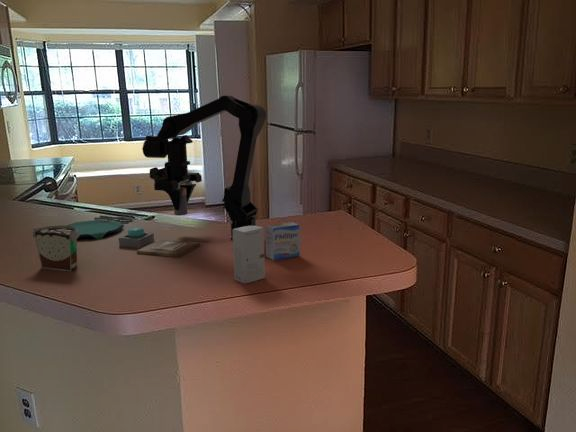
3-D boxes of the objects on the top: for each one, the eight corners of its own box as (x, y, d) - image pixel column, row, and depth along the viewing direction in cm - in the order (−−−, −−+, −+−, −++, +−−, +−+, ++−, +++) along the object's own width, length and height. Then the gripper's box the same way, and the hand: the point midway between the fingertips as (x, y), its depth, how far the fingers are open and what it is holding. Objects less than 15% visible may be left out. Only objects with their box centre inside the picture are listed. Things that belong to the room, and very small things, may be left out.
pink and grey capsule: (190, 212, 155) (188, 187, 153) (183, 215, 151) (181, 190, 149) (178, 212, 156) (176, 187, 154) (171, 215, 152) (169, 189, 150)
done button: (147, 235, 145) (146, 228, 144) (138, 239, 141) (137, 231, 140) (134, 234, 146) (133, 227, 146) (125, 238, 142) (124, 230, 142)
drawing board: (200, 244, 142) (200, 241, 142) (178, 257, 131) (178, 253, 131) (161, 241, 146) (160, 238, 146) (136, 253, 135) (136, 249, 135)
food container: (93, 264, 126) (89, 226, 124) (76, 272, 121) (71, 232, 118) (55, 260, 130) (50, 223, 128) (36, 267, 125) (31, 229, 122)
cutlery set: (42, 239, 151) (41, 232, 150) (96, 219, 180) (96, 212, 179) (101, 243, 147) (101, 235, 147) (147, 221, 176) (147, 214, 175)
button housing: (154, 241, 146) (153, 233, 146) (140, 248, 140) (139, 239, 139) (134, 240, 148) (133, 231, 148) (119, 246, 142) (118, 237, 141)
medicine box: (273, 261, 126) (272, 228, 124) (265, 256, 130) (265, 224, 128) (300, 256, 130) (299, 224, 128) (292, 252, 134) (291, 221, 132)
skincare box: (245, 284, 110) (243, 232, 108) (233, 279, 114) (230, 228, 111) (266, 277, 114) (264, 227, 112) (253, 273, 118) (252, 224, 115)
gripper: (170, 154, 161) (173, 201, 164) (136, 161, 143) (140, 213, 147) (201, 155, 157) (203, 203, 161) (169, 162, 140) (173, 215, 143)
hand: (180, 208), depth 153 cm, fingers closed on pink and grey capsule, 4 cm apart
